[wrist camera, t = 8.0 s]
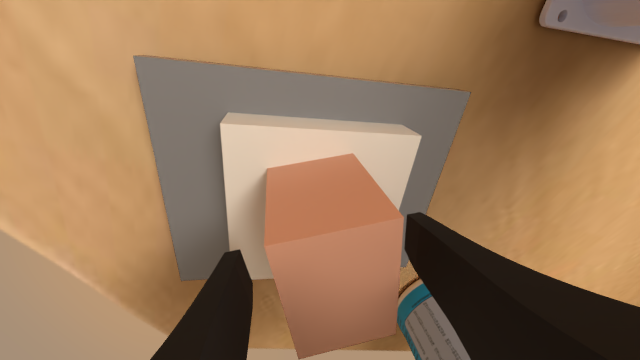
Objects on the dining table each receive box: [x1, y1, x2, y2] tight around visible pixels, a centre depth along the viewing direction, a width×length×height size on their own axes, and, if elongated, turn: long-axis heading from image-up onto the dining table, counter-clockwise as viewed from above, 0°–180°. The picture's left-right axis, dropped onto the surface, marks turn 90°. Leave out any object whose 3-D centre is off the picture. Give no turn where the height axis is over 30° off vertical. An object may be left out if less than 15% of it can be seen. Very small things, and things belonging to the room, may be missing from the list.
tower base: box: [133, 55, 471, 281], centre depth 14 cm, size 16×13×3 cm
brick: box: [264, 153, 404, 359], centre depth 10 cm, size 4×6×5 cm, turn 7°
